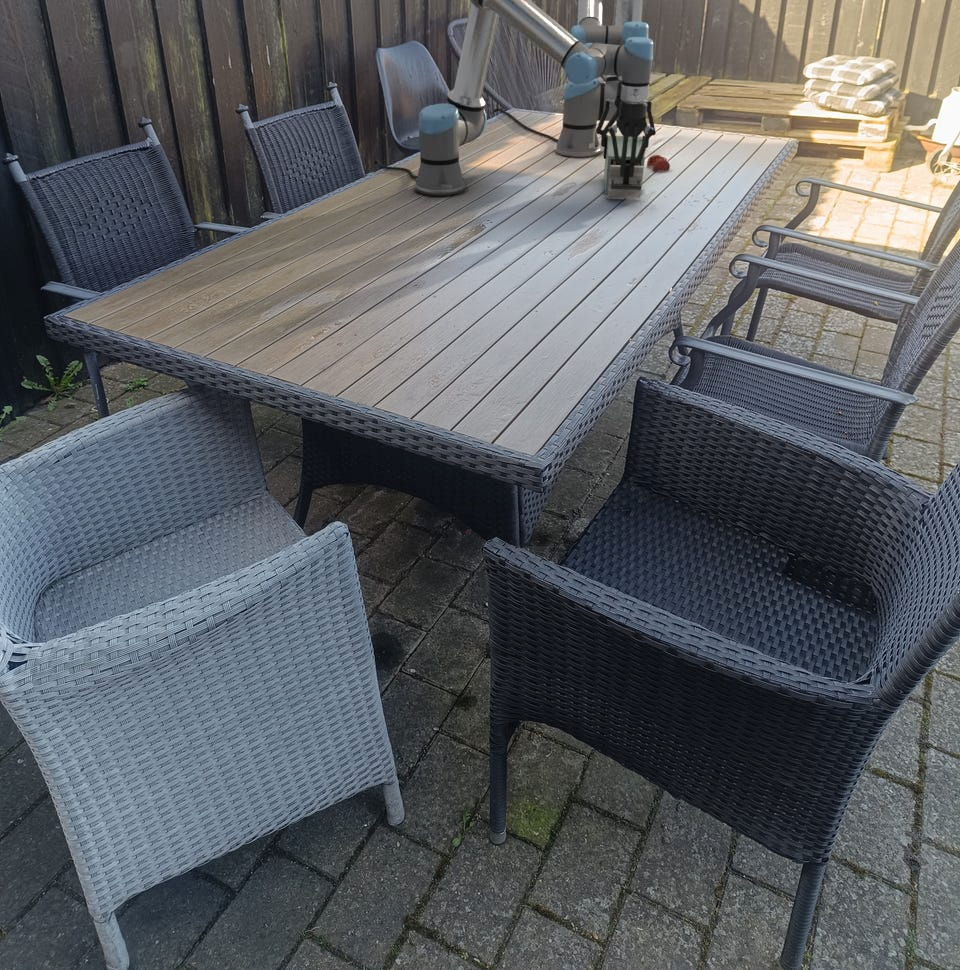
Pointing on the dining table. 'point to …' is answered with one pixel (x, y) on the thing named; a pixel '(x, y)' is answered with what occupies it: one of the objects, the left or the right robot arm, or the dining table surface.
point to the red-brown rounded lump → (658, 163)
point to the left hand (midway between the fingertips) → (625, 188)
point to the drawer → (617, 184)
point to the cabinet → (611, 155)
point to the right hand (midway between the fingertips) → (623, 158)
